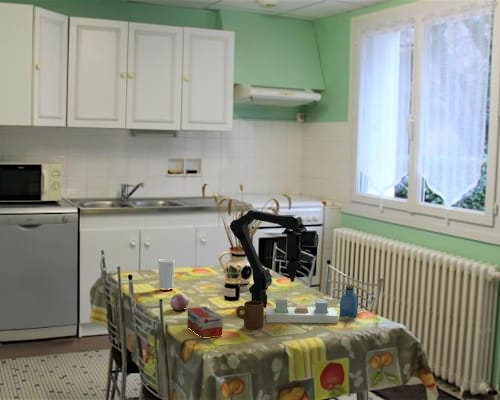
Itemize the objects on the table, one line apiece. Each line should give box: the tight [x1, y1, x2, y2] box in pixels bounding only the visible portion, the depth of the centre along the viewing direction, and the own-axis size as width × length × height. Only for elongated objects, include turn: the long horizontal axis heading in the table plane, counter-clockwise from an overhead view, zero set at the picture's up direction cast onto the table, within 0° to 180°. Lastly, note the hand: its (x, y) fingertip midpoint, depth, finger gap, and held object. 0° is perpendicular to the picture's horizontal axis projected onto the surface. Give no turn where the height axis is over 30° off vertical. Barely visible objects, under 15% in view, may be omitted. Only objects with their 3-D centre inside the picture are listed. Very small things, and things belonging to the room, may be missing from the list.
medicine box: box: [186, 306, 223, 338], centre depth 245 cm, size 15×8×8 cm, turn 28°
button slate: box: [314, 299, 329, 313], centre depth 265 cm, size 4×4×4 cm
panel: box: [265, 306, 339, 324], centre depth 266 cm, size 28×12×3 cm, turn 90°
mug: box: [235, 300, 265, 330], centre depth 251 cm, size 12×8×9 cm, turn 127°
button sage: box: [275, 299, 288, 312], centre depth 265 cm, size 4×4×4 cm
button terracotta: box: [295, 305, 308, 313], centre depth 266 cm, size 4×4×4 cm
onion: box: [169, 293, 190, 311], centre depth 276 cm, size 8×8×7 cm
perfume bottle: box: [339, 285, 359, 319], centre depth 271 cm, size 6×6×12 cm
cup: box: [157, 258, 176, 289], centre depth 310 cm, size 8×8×14 cm
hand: (292, 281), depth 278 cm, fingers closed
